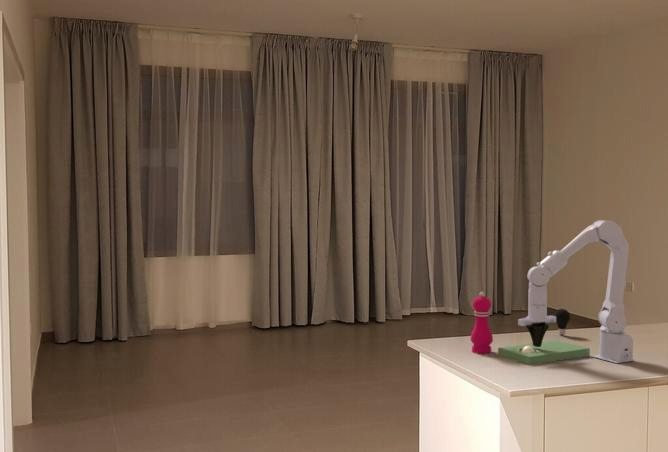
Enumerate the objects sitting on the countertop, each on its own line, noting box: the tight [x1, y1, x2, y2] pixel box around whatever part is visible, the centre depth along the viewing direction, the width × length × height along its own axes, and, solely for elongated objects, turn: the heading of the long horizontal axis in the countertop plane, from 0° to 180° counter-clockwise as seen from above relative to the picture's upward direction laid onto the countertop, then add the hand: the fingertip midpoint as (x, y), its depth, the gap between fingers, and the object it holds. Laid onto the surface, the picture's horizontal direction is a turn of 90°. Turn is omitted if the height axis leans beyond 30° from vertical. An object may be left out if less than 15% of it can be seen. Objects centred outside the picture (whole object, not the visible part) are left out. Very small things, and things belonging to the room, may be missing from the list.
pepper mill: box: [470, 291, 494, 355], centre depth 221 cm, size 7×7×20 cm
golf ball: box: [522, 346, 535, 352], centre depth 212 cm, size 4×4×4 cm
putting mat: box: [497, 339, 591, 366], centre depth 216 cm, size 14×26×2 cm, turn 117°
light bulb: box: [553, 308, 571, 337], centre depth 248 cm, size 6×6×10 cm
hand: (537, 346), depth 214 cm, fingers closed
